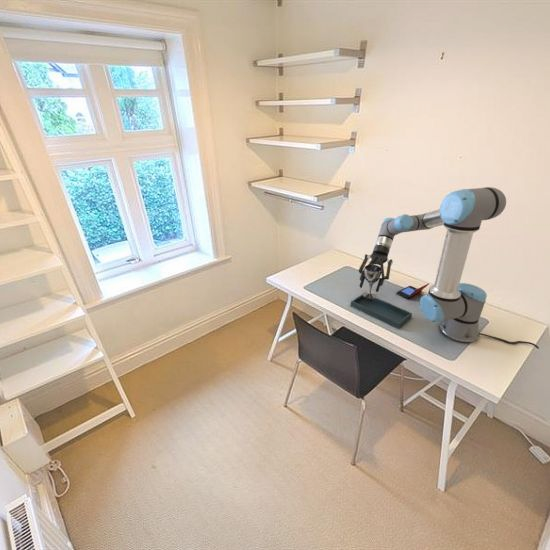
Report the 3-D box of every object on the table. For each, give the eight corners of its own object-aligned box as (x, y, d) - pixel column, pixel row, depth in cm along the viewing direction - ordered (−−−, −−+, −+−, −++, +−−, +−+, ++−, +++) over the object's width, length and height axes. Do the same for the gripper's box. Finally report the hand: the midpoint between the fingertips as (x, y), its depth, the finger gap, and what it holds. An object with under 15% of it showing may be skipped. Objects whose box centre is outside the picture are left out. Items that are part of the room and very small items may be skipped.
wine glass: (378, 299, 153) (382, 272, 147) (361, 298, 155) (365, 271, 148) (377, 291, 160) (381, 265, 153) (361, 290, 162) (364, 264, 155)
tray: (411, 318, 151) (412, 313, 150) (398, 328, 144) (399, 323, 143) (363, 297, 169) (364, 292, 167) (350, 306, 162) (351, 301, 160)
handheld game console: (409, 287, 178) (412, 275, 174) (427, 295, 170) (430, 283, 166) (395, 293, 171) (397, 281, 168) (413, 302, 163) (415, 290, 160)
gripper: (403, 254, 156) (390, 296, 151) (363, 246, 165) (350, 286, 161) (403, 248, 149) (389, 292, 145) (361, 240, 159) (347, 281, 154)
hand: (368, 288), depth 153 cm, fingers closed on wine glass, 7 cm apart
